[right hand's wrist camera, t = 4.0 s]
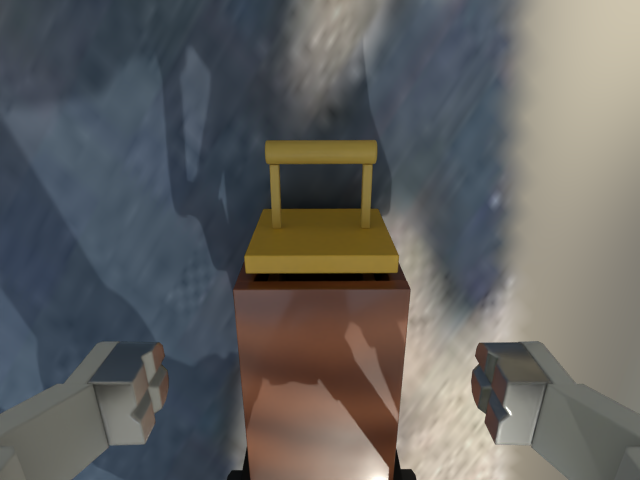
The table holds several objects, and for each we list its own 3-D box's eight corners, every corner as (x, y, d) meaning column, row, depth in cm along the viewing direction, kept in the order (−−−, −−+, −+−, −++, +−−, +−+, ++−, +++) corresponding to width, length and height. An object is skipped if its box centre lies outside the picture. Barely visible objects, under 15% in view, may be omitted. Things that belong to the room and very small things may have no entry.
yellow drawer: (258, 131, 30) (236, 154, 22) (382, 131, 30) (407, 153, 22) (273, 408, 40) (262, 497, 32) (367, 408, 40) (380, 496, 32)
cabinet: (258, 224, 34) (232, 289, 24) (382, 224, 34) (411, 288, 24) (270, 424, 42) (255, 537, 32) (371, 423, 42) (388, 536, 32)
